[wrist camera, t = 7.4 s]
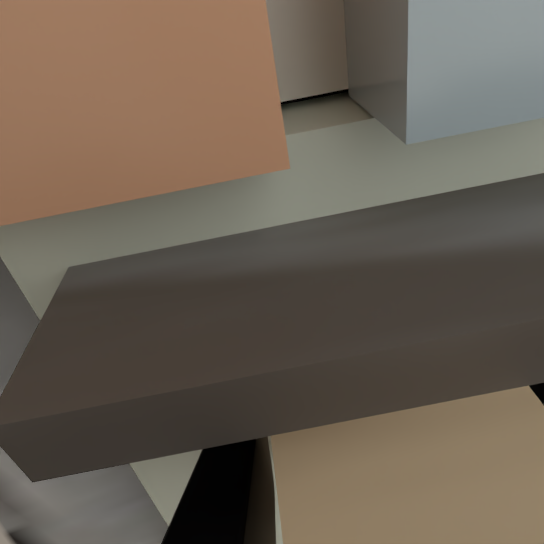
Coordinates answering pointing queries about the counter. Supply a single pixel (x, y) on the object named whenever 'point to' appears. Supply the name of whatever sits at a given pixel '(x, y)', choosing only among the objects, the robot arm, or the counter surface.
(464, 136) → the board
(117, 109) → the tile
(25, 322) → the counter surface
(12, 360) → the counter surface
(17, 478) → the counter surface
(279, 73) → the tray
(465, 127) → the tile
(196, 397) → the scraper
